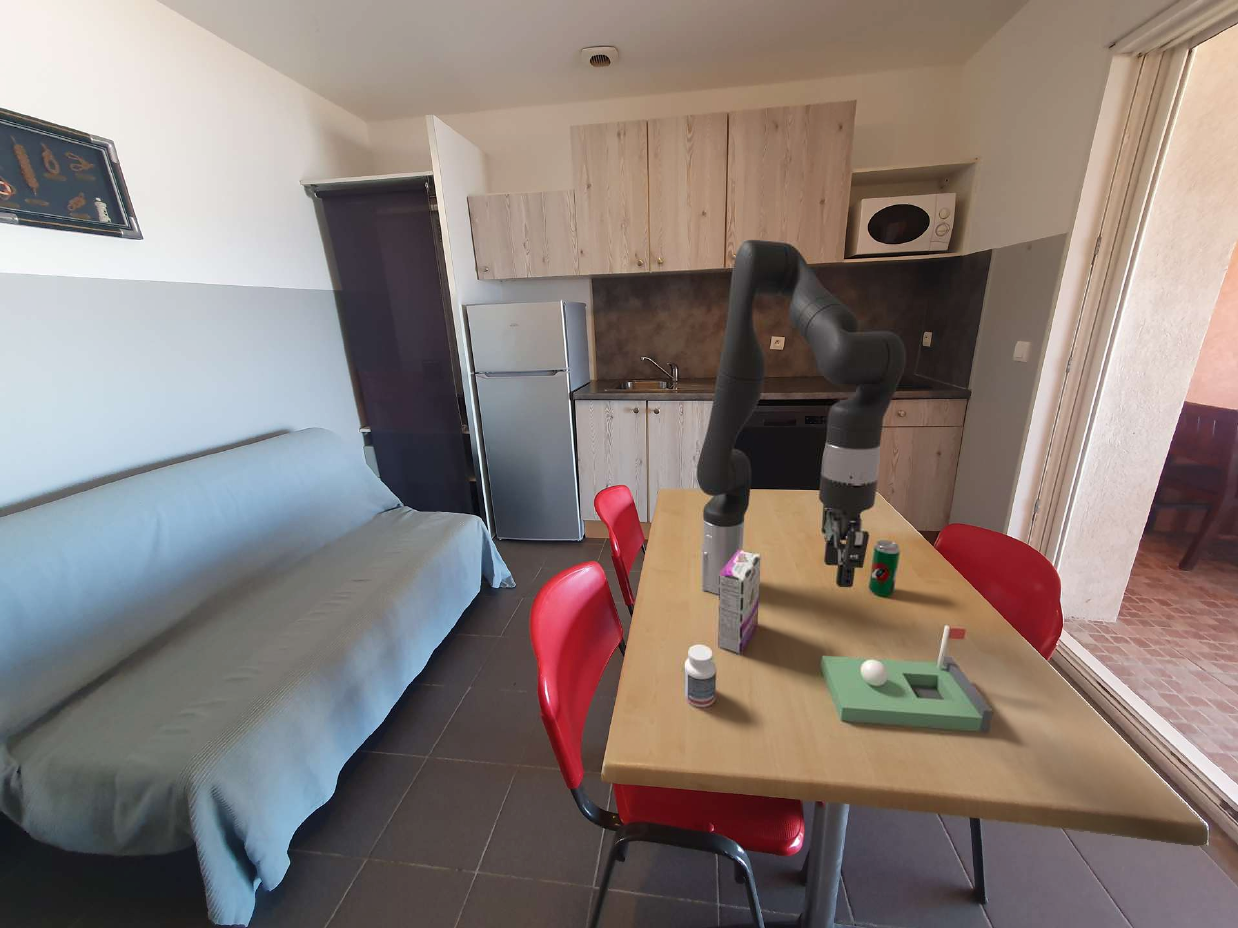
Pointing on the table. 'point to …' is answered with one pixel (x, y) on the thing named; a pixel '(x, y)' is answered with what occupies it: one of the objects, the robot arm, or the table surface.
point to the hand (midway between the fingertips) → (837, 574)
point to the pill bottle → (700, 676)
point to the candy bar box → (738, 600)
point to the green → (909, 692)
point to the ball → (874, 672)
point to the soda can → (884, 568)
